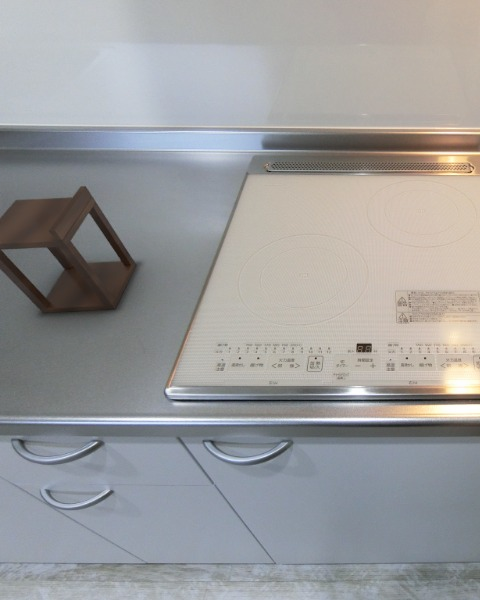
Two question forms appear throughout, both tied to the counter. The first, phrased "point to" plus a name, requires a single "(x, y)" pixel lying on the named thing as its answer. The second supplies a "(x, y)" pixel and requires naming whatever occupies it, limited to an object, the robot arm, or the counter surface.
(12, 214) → the shelf
